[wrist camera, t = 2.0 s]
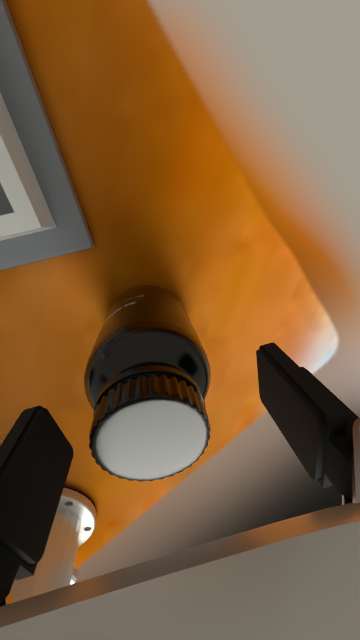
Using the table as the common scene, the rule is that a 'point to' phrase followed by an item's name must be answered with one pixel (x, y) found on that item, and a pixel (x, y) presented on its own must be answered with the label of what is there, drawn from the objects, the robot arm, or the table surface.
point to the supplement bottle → (147, 388)
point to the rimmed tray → (31, 167)
